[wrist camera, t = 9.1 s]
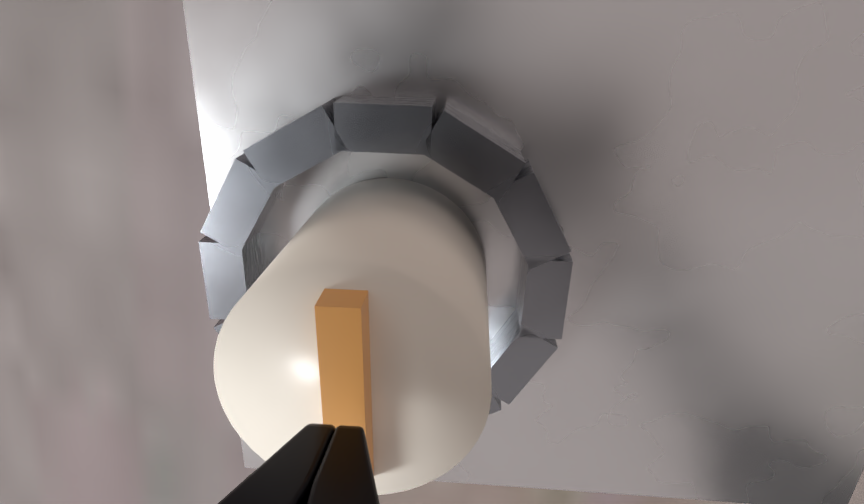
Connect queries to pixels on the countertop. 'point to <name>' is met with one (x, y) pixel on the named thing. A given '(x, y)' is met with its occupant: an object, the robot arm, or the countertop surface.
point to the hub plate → (585, 215)
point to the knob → (367, 333)
